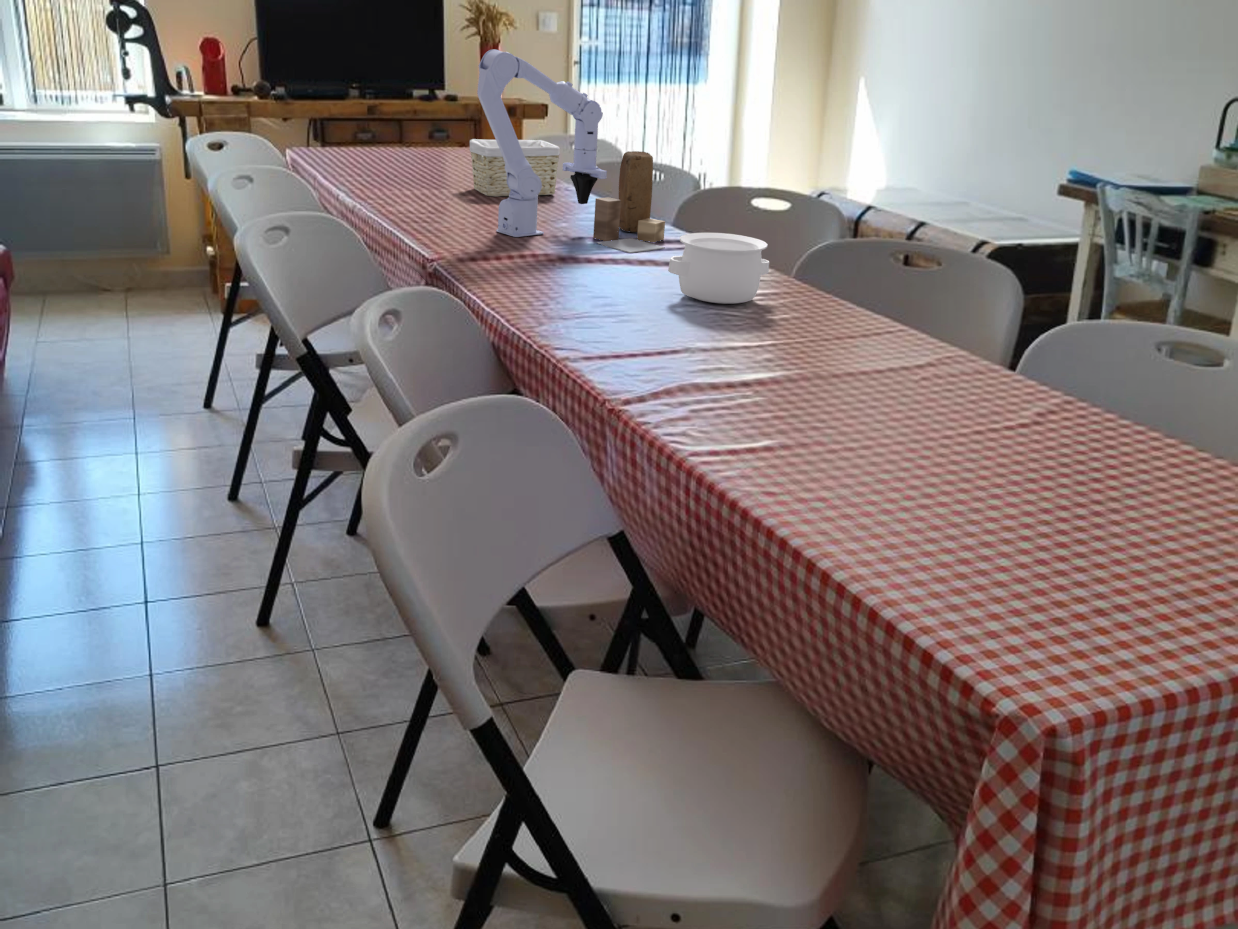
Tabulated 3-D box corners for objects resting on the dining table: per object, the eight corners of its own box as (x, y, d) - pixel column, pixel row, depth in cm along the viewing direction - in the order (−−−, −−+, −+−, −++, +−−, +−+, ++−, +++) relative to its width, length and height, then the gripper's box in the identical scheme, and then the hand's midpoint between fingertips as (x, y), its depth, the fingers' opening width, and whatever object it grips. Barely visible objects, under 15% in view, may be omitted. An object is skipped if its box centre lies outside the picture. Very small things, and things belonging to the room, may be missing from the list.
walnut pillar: (605, 241, 287) (607, 201, 283) (593, 238, 290) (595, 198, 286) (618, 240, 290) (621, 200, 286) (606, 236, 293) (608, 197, 289)
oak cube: (653, 243, 290) (655, 223, 288) (636, 240, 292) (638, 220, 290) (663, 240, 294) (665, 221, 292) (646, 237, 296) (648, 218, 294)
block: (650, 234, 300) (656, 155, 292) (622, 233, 298) (628, 154, 291) (640, 225, 310) (646, 149, 302) (613, 225, 308) (618, 148, 300)
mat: (629, 253, 276) (629, 251, 276) (596, 243, 284) (596, 242, 284) (664, 248, 284) (664, 247, 284) (631, 239, 292) (631, 238, 292)
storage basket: (483, 197, 334) (485, 145, 328) (466, 188, 347) (467, 137, 342) (560, 197, 344) (562, 146, 338) (540, 187, 357) (542, 138, 351)
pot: (682, 310, 230) (687, 250, 225) (654, 289, 245) (658, 232, 240) (782, 309, 236) (789, 250, 232) (748, 288, 251) (755, 232, 247)
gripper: (616, 152, 286) (613, 207, 291) (578, 144, 296) (575, 197, 301) (596, 153, 282) (593, 209, 287) (557, 145, 291) (555, 199, 296)
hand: (582, 203), depth 294 cm, fingers closed
